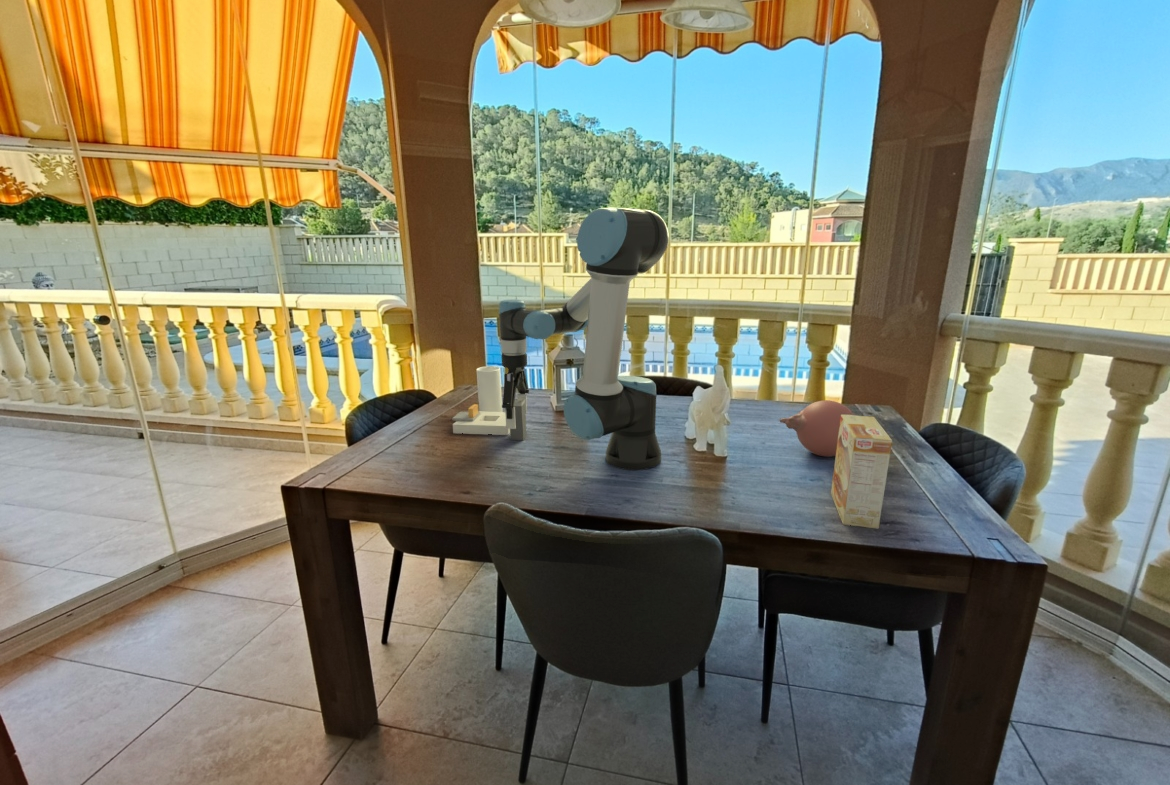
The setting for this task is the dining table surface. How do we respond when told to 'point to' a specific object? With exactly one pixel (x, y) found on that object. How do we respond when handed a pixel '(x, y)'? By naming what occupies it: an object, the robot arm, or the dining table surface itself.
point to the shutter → (468, 414)
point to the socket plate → (483, 424)
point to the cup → (489, 389)
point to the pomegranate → (818, 426)
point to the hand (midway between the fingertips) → (517, 420)
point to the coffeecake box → (860, 470)
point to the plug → (519, 421)
